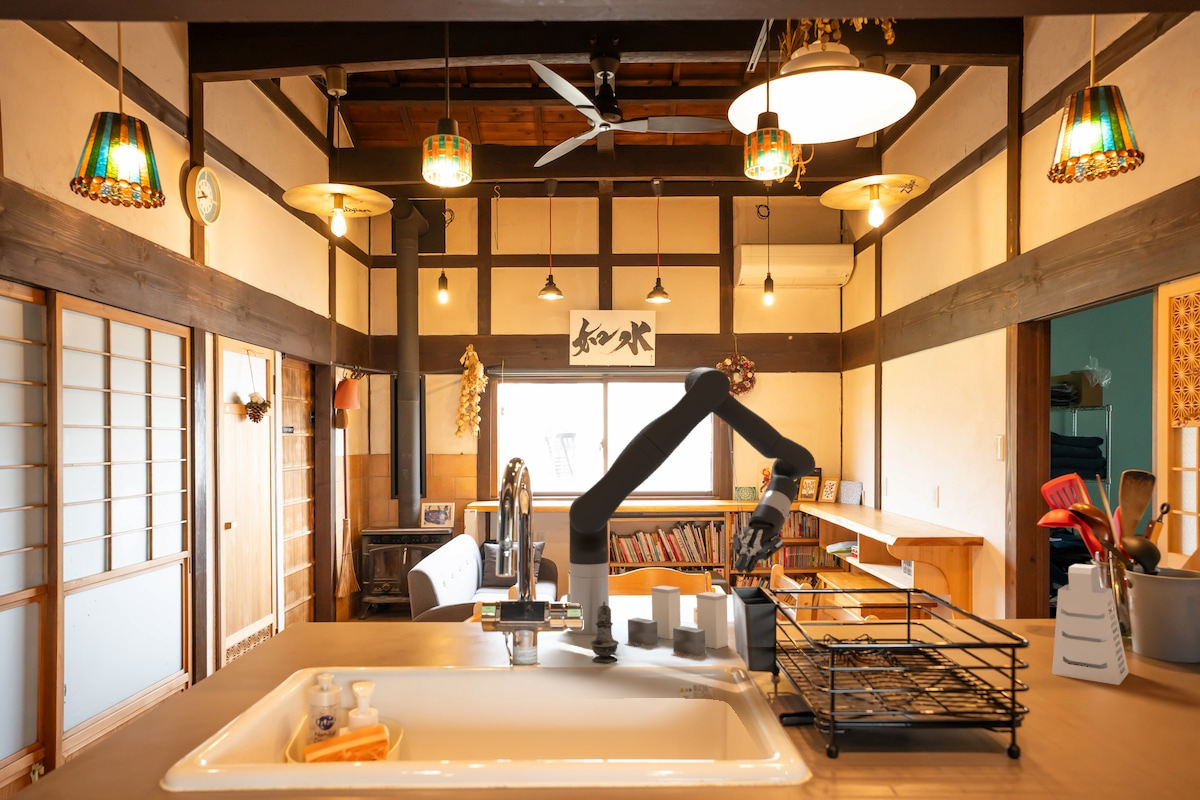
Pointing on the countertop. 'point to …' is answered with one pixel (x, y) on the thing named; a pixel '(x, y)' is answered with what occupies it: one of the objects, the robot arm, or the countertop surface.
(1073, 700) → the countertop surface
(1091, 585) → the grater
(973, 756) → the countertop surface
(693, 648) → the dark grey rectangular blocks
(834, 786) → the countertop surface
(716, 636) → the tall white box
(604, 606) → the salt shaker
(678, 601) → the tall cream pillar
